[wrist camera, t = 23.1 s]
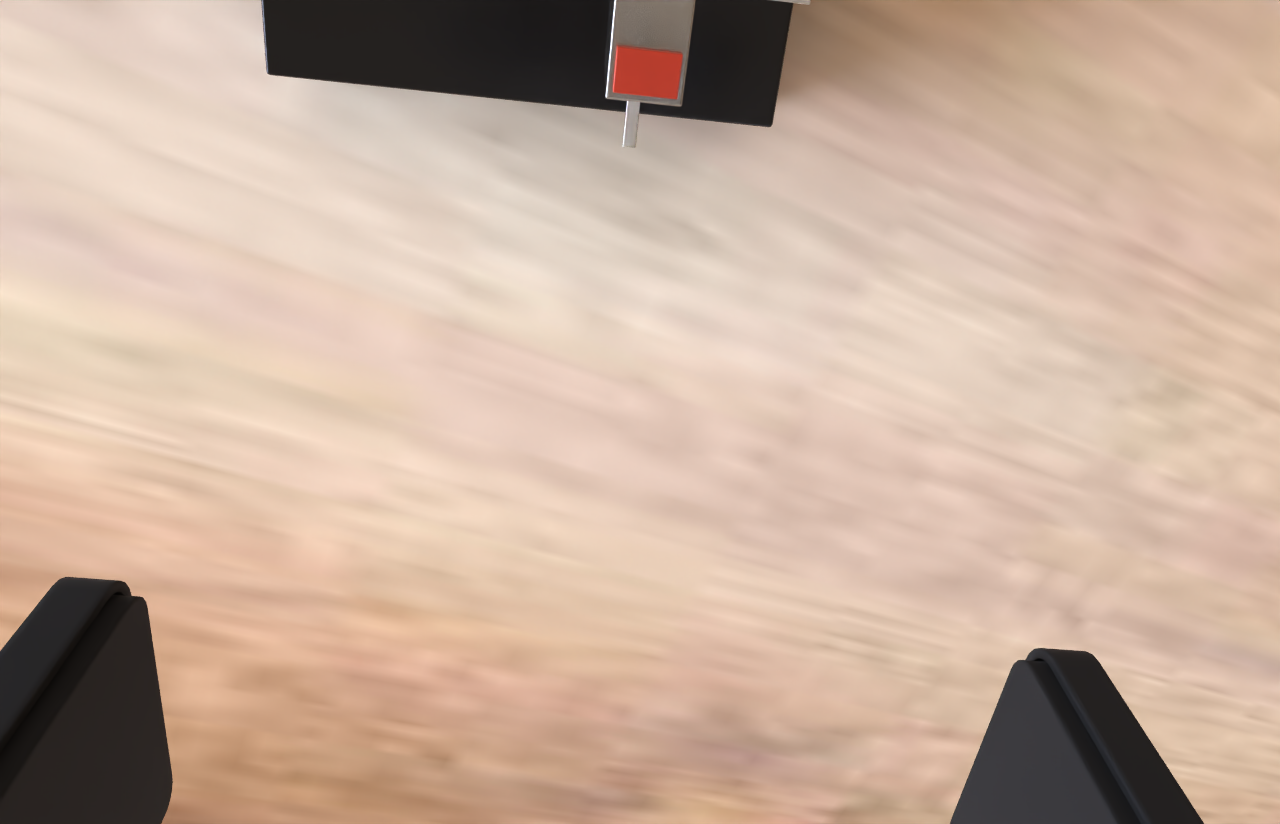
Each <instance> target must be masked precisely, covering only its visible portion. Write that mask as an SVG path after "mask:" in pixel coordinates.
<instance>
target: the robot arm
mask: <svg viewBox="0 0 1280 824" xmlns="http://www.w3.org/2000/svg"><path fill="white" fill-rule="evenodd" d="M172 783H173V781H172V771H171V764H170V757H169V750H168V743H167V737H166V730H165V723H164V716H163V710H162V703H161V696H160V689H159V682H158V676H157V669H156V662H155V655H154V648H153V642H152V635H151V628H150V621H149V615H148V608H147V604H146V601H145V600H144V598H143V597H138V596H131V592H130V589H129V587H128V585H127V584H126V583H125V582H122V581H115V580H102V579H88V578H74V577H64V578H62V579H59V580H58V581H57V582H56V583H55V584H54V585H53V586H52V587H51V588H50V590H49V591H48V592H47V593H46V595H45V596H44V597H43V598H42V600H41V601H40V602H39V603H38V605H37V606H36V607H35V608H34V610H33V611H32V612H31V613H30V615H29V616H28V617H27V618H26V620H25V621H24V622H23V623H22V625H21V626H20V627H19V628H18V630H17V631H16V632H15V633H14V635H13V636H12V637H11V638H10V640H9V641H8V642H7V643H6V645H5V646H4V647H3V648H2V650H1V651H0V824H161V823H162V820H163V818H164V816H165V814H166V811H167V809H168V805H169V802H170V798H171V792H172ZM950 824H1204V823H1203V821H1202V820H1201V818H1200V817H1199V815H1198V814H1197V812H1196V810H1195V809H1194V807H1193V806H1192V804H1191V803H1190V801H1189V800H1188V798H1187V797H1186V795H1185V794H1184V792H1183V790H1182V789H1181V787H1180V786H1179V784H1178V783H1177V781H1176V780H1175V778H1174V777H1173V775H1172V774H1171V772H1170V770H1169V769H1168V767H1167V766H1166V764H1165V763H1164V761H1163V760H1162V758H1161V757H1160V755H1159V754H1158V752H1157V750H1156V749H1155V747H1154V746H1153V744H1152V743H1151V741H1150V740H1149V738H1148V737H1147V735H1146V734H1145V732H1144V730H1143V729H1142V727H1141V726H1140V724H1139V723H1138V721H1137V720H1136V718H1135V717H1134V715H1133V714H1132V712H1131V710H1130V709H1129V707H1128V706H1127V704H1126V703H1125V701H1124V700H1123V698H1122V697H1121V695H1120V694H1119V692H1118V690H1117V689H1116V687H1115V686H1114V684H1113V683H1112V681H1111V680H1110V678H1109V677H1108V675H1107V674H1106V672H1105V670H1104V669H1103V667H1102V666H1101V664H1100V663H1099V661H1098V660H1097V659H1096V658H1095V657H1094V656H1093V655H1092V654H1090V653H1088V652H1086V651H1073V650H1059V649H1045V648H1038V649H1034V650H1033V651H1031V652H1030V653H1029V655H1028V657H1027V658H1026V660H1018V661H1017V662H1016V663H1014V665H1013V667H1012V668H1011V671H1010V673H1009V676H1008V678H1007V681H1006V683H1005V686H1004V688H1003V691H1002V693H1001V696H1000V698H999V701H998V703H997V706H996V708H995V711H994V713H993V716H992V718H991V721H990V723H989V726H988V728H987V731H986V734H985V736H984V739H983V741H982V744H981V746H980V749H979V751H978V754H977V756H976V759H975V761H974V764H973V766H972V769H971V771H970V774H969V776H968V779H967V781H966V784H965V786H964V789H963V791H962V794H961V796H960V799H959V801H958V804H957V806H956V809H955V811H954V814H953V816H952V819H951V822H950Z"/></svg>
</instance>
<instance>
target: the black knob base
mask: <svg viewBox="0 0 1280 824" xmlns="http://www.w3.org/2000/svg"><path fill="white" fill-rule="evenodd" d="M810 1H811V0H696V1H695V9H694V16H693V24H692V31H691V39H690V47H689V54H688V62H687V70H686V77H685V85H684V93H683V100H682V105H681V106H670V105H661V104H652V103H642V102H633V101H624V100H615V99H607V98H606V96H605V72H604V60H605V49H606V38H607V27H608V16H609V6H610V0H261V2H262V15H263V29H264V43H265V56H266V70H267V73H268V74H269V75H276V76H285V77H295V78H304V79H314V80H323V81H333V82H342V83H352V84H361V85H371V86H381V87H390V88H400V89H409V90H419V91H428V92H438V93H447V94H457V95H466V96H476V97H486V98H495V99H505V100H514V101H524V102H533V103H543V104H552V105H562V106H571V107H581V108H591V109H600V110H610V111H619V112H626V118H625V128H624V137H623V146H624V147H634V148H635V147H636V138H637V128H638V119H639V114H648V115H657V116H667V117H676V118H686V119H696V120H705V121H715V122H724V123H734V124H743V125H753V126H762V127H771V126H772V124H773V118H774V112H775V107H776V101H777V95H778V89H779V83H780V78H781V72H782V66H783V60H784V55H785V49H786V43H787V37H788V31H789V26H790V20H791V14H792V8H793V3H798V4H807V5H810Z"/></svg>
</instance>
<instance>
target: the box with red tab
mask: <svg viewBox="0 0 1280 824" xmlns="http://www.w3.org/2000/svg"><path fill="white" fill-rule="evenodd" d="M695 1H696V0H610V6H609V16H608V27H607V38H606V49H605V60H604V72H605V96H606V98H607V99H615V100H624V101H633V102H642V103H652V104H661V105H670V106H681V105H682V100H683V93H684V85H685V77H686V70H687V62H688V54H689V47H690V39H691V31H692V24H693V16H694V9H695Z"/></svg>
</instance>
